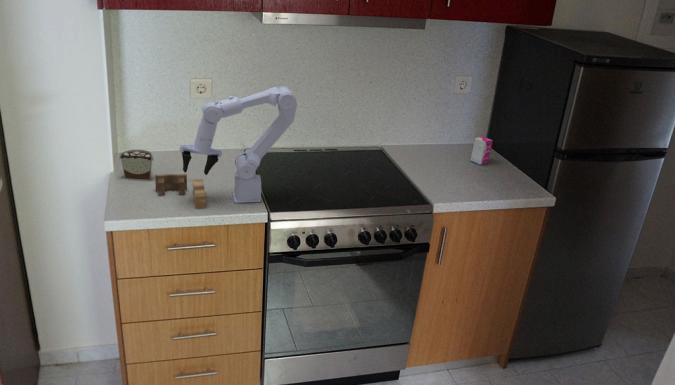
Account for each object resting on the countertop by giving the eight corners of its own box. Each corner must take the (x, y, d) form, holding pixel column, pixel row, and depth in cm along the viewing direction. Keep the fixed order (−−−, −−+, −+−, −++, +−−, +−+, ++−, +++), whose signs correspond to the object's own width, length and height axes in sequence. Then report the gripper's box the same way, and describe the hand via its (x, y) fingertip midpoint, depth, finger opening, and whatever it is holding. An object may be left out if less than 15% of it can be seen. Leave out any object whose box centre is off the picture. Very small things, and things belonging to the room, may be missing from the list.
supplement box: (480, 166, 267) (485, 141, 262) (469, 161, 271) (474, 137, 266) (488, 163, 270) (493, 139, 266) (478, 159, 274) (482, 135, 270)
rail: (193, 191, 220) (192, 179, 218) (202, 191, 221) (202, 178, 218) (195, 209, 207) (195, 196, 205) (205, 208, 208) (205, 195, 206)
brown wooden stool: (187, 188, 221) (186, 173, 218) (187, 194, 216) (187, 179, 214) (155, 189, 218) (155, 174, 215) (155, 195, 213) (154, 180, 211)
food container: (158, 174, 230) (157, 150, 226) (154, 180, 225) (153, 156, 220) (125, 172, 229) (123, 147, 225) (120, 178, 224) (118, 153, 220)
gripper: (221, 135, 211) (211, 169, 216) (181, 129, 203) (171, 165, 208) (227, 143, 206) (217, 178, 210) (186, 137, 198) (177, 173, 202)
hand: (195, 172), depth 209 cm, fingers open, 7 cm apart
